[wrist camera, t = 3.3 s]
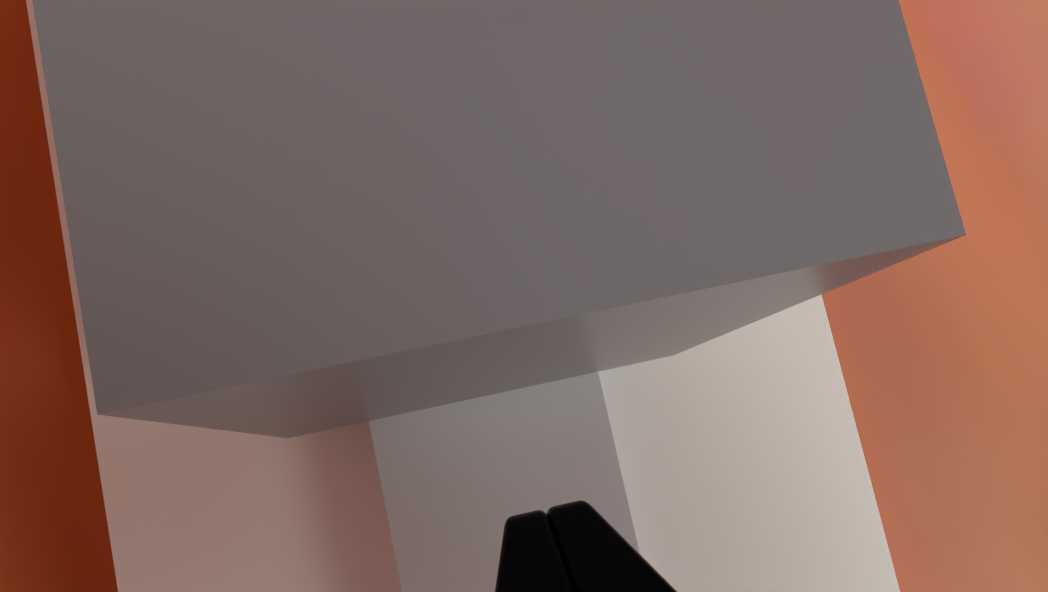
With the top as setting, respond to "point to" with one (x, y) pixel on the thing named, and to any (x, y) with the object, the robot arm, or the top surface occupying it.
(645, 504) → the rail plate
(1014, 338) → the top surface
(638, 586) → the robot arm
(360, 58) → the plate
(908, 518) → the top surface
